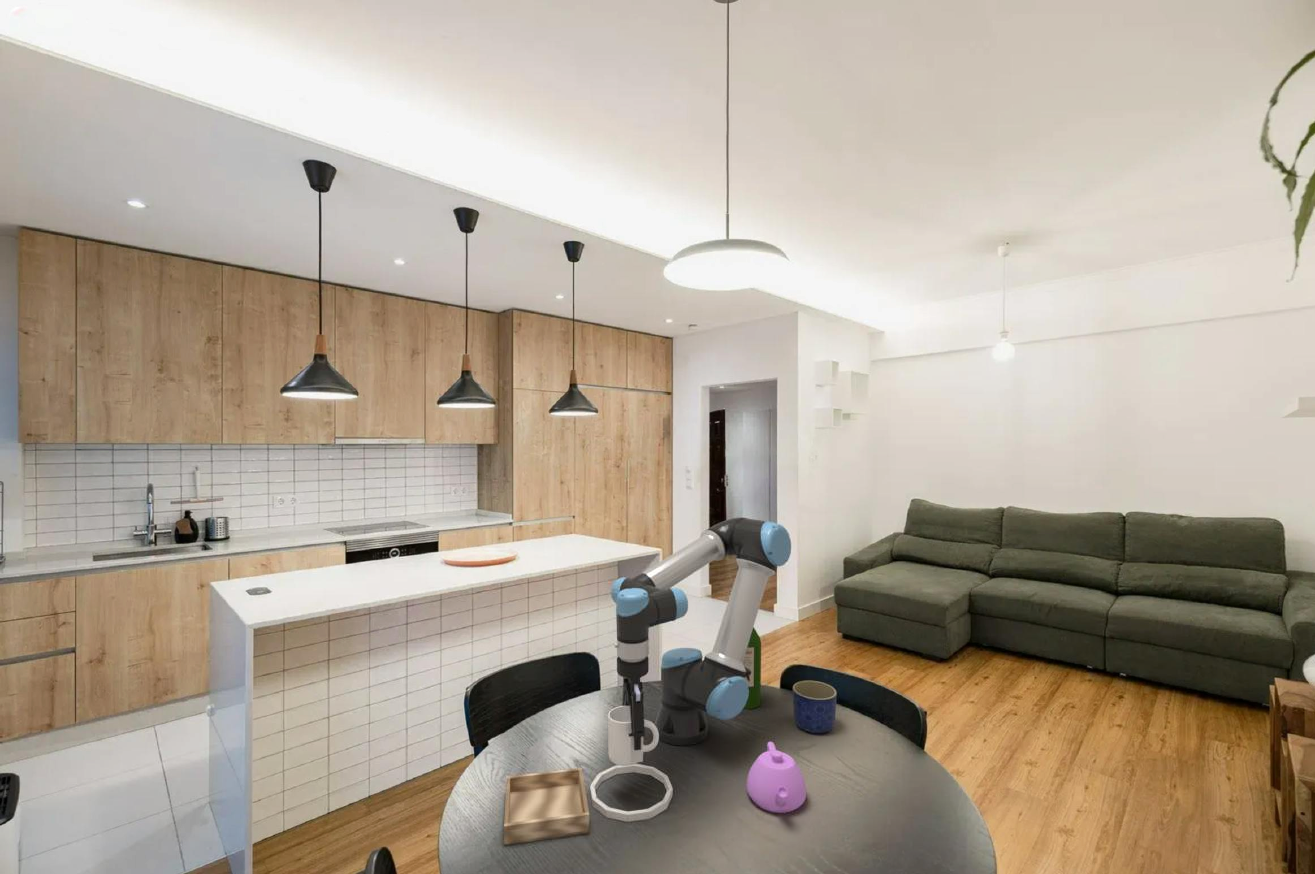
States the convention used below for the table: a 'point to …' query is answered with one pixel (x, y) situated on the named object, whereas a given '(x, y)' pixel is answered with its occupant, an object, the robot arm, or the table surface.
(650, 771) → the socket ring
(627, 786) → the table surface
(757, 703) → the wine bottle
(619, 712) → the mug
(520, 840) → the oak bin
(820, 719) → the planter
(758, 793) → the teapot
